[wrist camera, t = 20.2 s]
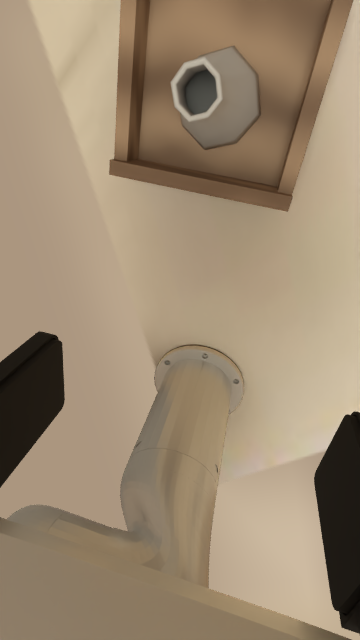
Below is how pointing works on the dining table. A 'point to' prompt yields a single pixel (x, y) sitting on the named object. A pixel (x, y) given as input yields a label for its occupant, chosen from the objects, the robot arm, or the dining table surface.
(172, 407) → the robot arm
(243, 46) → the wooden tray
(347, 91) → the dining table surface
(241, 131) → the flask
